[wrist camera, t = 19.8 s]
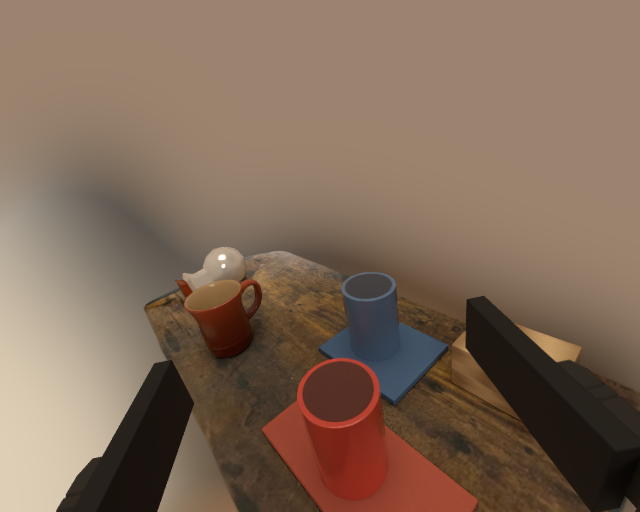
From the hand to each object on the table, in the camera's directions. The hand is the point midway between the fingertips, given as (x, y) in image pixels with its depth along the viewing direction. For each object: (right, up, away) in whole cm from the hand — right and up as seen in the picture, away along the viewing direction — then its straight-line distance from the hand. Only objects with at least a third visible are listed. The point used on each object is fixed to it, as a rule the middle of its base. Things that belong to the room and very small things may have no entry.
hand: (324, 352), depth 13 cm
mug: (-14, -10, +38) cm, 42 cm away
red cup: (+3, -16, +17) cm, 23 cm away
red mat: (+3, -17, +17) cm, 24 cm away
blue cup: (+8, -8, +31) cm, 33 cm away
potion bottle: (-23, -4, +56) cm, 61 cm away
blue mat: (+9, -9, +30) cm, 33 cm away
